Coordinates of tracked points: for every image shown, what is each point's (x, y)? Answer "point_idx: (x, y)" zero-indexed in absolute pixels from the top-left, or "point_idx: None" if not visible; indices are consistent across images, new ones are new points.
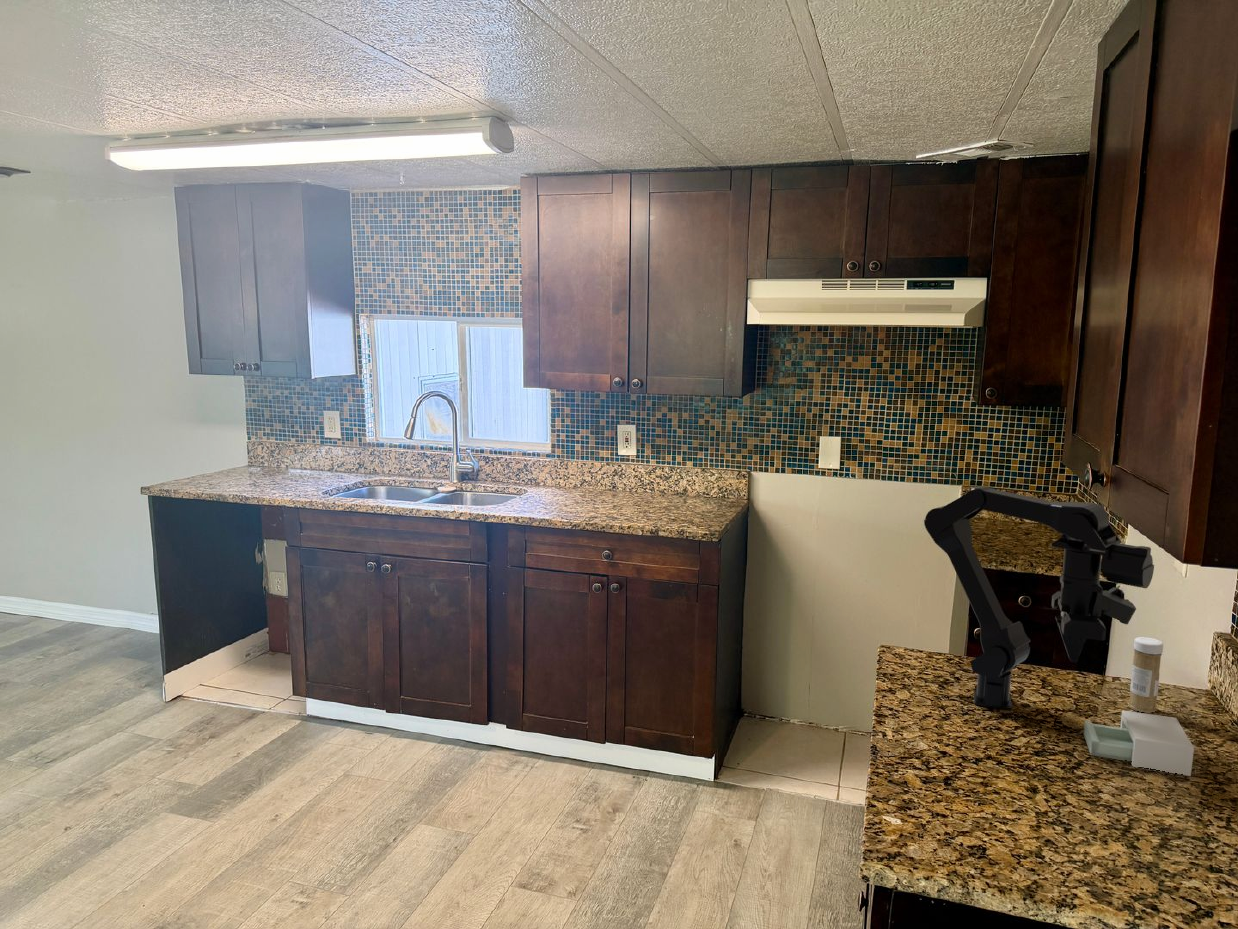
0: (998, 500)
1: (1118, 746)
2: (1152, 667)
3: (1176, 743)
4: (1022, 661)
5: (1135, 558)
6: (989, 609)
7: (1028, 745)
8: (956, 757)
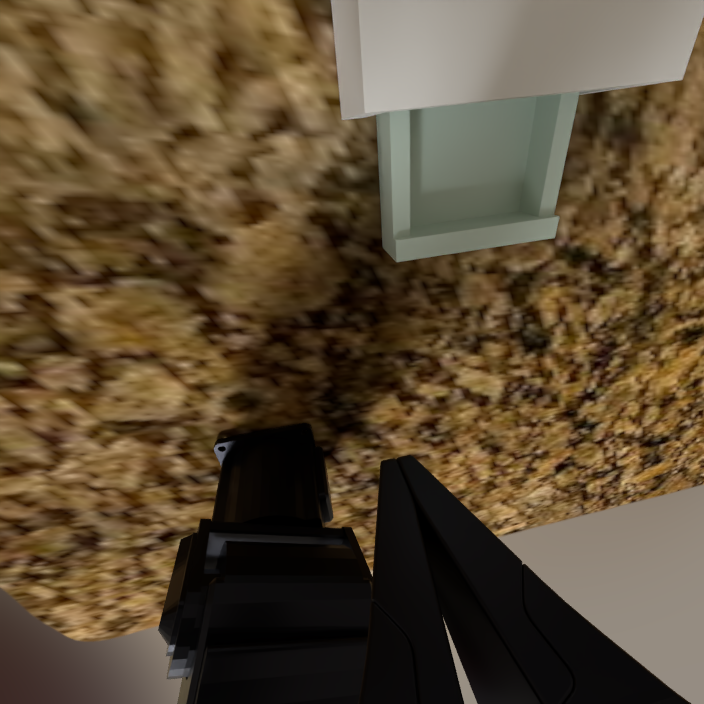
0: None
1: (567, 146)
2: None
3: None
4: (250, 546)
5: None
6: None
7: (499, 364)
8: (576, 450)
